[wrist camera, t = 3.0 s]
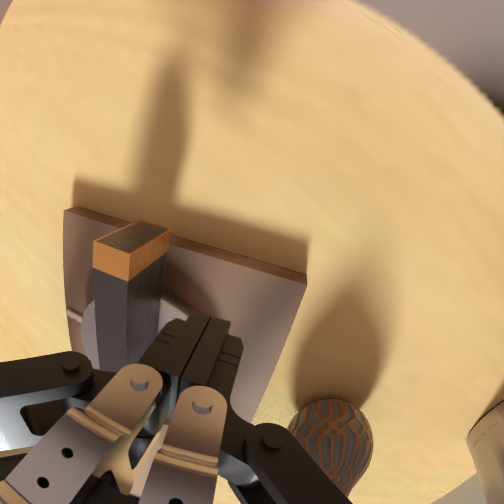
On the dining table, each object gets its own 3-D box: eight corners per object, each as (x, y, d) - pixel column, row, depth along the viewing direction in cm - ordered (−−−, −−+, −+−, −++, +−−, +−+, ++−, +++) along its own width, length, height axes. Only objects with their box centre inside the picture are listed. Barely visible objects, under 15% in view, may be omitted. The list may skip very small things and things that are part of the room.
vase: (280, 390, 20) (268, 486, 12) (368, 379, 19) (388, 474, 11) (290, 438, 22) (281, 517, 14) (364, 430, 21) (373, 509, 13)
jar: (130, 431, 26) (86, 505, 15) (160, 410, 24) (109, 506, 12) (190, 469, 27) (162, 544, 16) (230, 454, 25) (204, 548, 13)
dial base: (306, 274, 17) (307, 286, 16) (242, 433, 23) (239, 446, 21) (76, 206, 18) (62, 210, 17) (85, 369, 24) (76, 379, 22)
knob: (212, 420, 20) (193, 473, 15) (96, 372, 21) (63, 411, 16) (262, 245, 15) (243, 291, 10) (93, 198, 16) (29, 217, 11)
